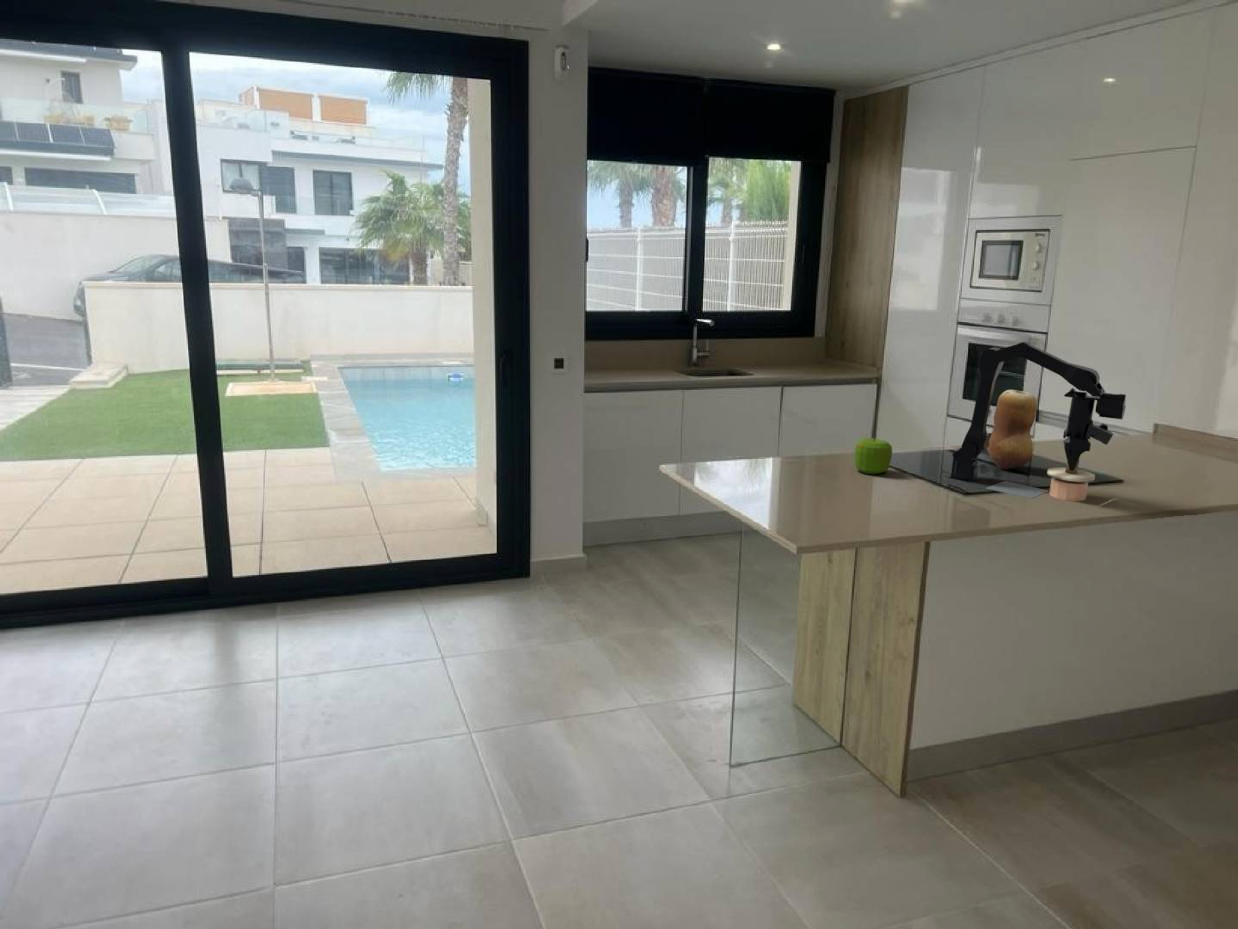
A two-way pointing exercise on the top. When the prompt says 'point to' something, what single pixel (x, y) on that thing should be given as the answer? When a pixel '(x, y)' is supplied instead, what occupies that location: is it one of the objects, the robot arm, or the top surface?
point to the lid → (1071, 474)
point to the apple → (872, 455)
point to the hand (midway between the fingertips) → (1071, 469)
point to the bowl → (1068, 489)
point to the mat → (1017, 489)
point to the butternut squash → (1012, 429)
